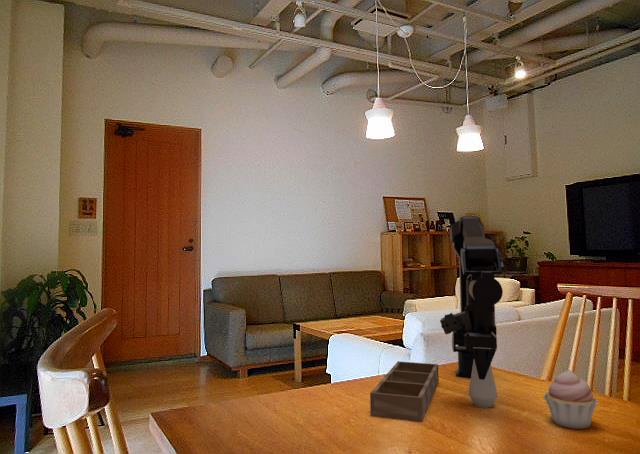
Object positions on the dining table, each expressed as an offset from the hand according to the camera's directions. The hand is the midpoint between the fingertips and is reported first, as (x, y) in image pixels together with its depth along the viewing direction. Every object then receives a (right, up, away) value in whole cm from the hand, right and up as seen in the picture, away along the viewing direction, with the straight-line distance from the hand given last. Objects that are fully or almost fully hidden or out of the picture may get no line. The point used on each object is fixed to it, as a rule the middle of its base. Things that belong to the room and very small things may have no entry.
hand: (482, 373), depth 102 cm
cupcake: (+13, -6, -11) cm, 18 cm away
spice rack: (-15, -7, +5) cm, 17 cm away
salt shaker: (0, -7, 0) cm, 7 cm away
